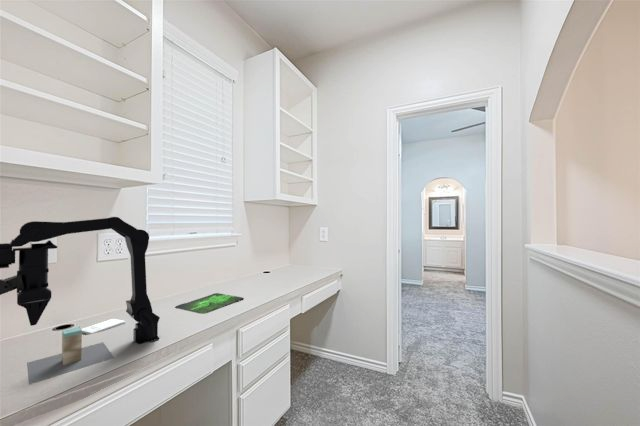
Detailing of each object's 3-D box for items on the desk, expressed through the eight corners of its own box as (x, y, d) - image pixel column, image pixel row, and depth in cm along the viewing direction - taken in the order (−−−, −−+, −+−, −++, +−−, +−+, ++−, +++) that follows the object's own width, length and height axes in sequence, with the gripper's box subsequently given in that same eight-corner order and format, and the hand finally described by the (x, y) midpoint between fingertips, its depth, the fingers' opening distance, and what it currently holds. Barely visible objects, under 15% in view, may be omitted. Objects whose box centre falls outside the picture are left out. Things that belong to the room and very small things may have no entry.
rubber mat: (103, 343, 95) (103, 342, 95) (114, 359, 84) (114, 357, 84) (27, 364, 81) (27, 362, 81) (29, 386, 71) (29, 384, 71)
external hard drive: (125, 324, 113) (91, 336, 102) (112, 322, 116) (77, 333, 105) (125, 320, 113) (91, 332, 102) (112, 318, 116) (78, 329, 105)
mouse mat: (203, 315, 124) (203, 313, 124) (172, 308, 133) (172, 306, 133) (245, 299, 148) (245, 297, 148) (216, 294, 158) (216, 292, 158)
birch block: (79, 355, 86) (79, 326, 86) (81, 359, 83) (81, 330, 83) (61, 360, 83) (62, 330, 83) (63, 365, 80) (63, 334, 80)
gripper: (-9, 265, 77) (-11, 320, 77) (-14, 274, 65) (-15, 340, 65) (46, 260, 86) (45, 310, 85) (52, 267, 73) (50, 326, 73)
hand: (32, 320), depth 77 cm, fingers open, 9 cm apart
